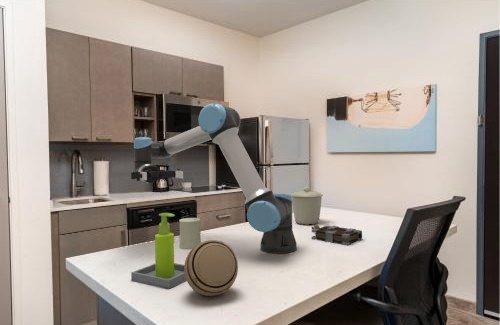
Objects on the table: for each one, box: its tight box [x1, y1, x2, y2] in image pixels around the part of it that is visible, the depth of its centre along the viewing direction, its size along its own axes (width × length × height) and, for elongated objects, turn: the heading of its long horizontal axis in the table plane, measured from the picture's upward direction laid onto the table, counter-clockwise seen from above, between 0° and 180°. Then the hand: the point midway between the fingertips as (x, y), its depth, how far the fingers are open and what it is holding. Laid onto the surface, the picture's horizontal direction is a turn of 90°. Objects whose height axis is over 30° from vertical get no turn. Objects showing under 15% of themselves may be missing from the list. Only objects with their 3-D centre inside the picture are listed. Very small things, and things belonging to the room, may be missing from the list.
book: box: [311, 224, 363, 246], centre depth 161 cm, size 15×25×5 cm, turn 46°
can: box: [178, 217, 202, 250], centre depth 150 cm, size 9×9×12 cm
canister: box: [290, 186, 324, 226], centre depth 198 cm, size 18×18×21 cm
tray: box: [130, 262, 187, 290], centre depth 111 cm, size 16×14×2 cm
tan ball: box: [183, 239, 239, 297], centre depth 97 cm, size 15×15×15 cm
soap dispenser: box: [154, 212, 176, 278], centre depth 111 cm, size 6×7×20 cm
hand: (164, 175), depth 127 cm, fingers open, 13 cm apart
